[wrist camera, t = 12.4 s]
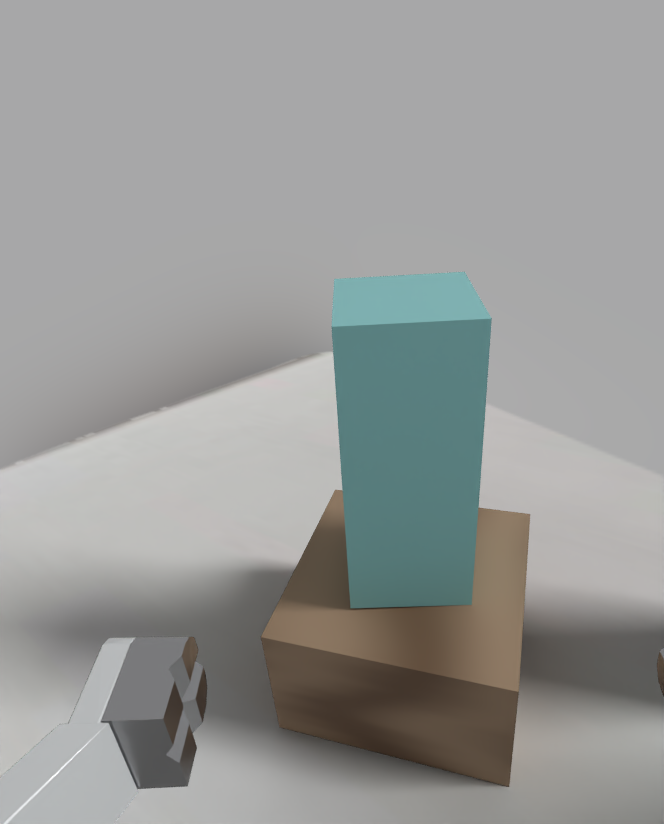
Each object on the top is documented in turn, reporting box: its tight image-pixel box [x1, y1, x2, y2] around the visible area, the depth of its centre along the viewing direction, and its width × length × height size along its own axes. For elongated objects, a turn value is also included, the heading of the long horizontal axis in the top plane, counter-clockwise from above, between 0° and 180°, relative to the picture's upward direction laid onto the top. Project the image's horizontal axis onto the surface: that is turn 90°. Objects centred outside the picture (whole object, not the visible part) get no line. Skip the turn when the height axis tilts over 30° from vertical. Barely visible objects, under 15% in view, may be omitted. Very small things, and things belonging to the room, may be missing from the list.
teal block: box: [332, 272, 492, 608], centre depth 19 cm, size 4×4×10 cm
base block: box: [261, 490, 530, 787], centre depth 23 cm, size 8×8×5 cm
